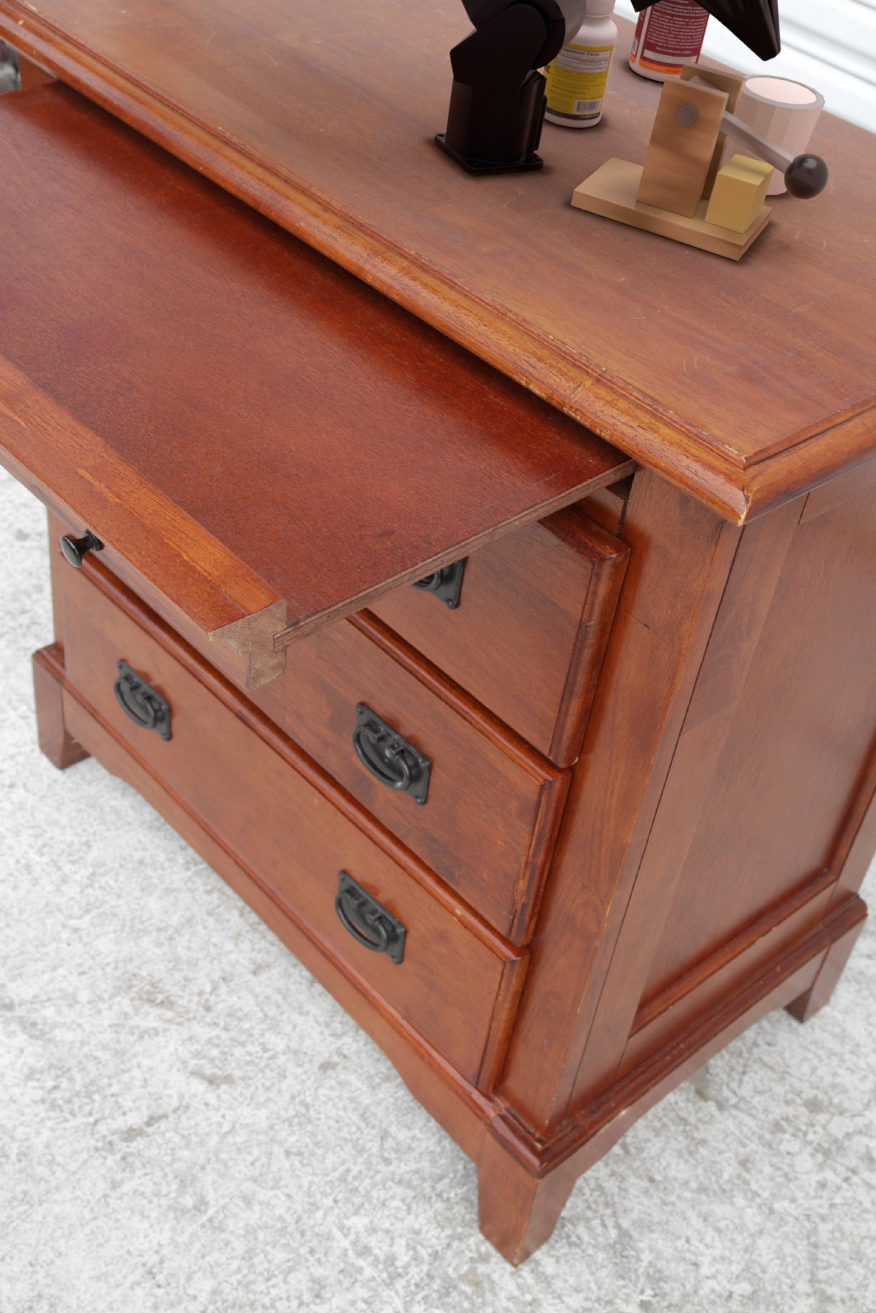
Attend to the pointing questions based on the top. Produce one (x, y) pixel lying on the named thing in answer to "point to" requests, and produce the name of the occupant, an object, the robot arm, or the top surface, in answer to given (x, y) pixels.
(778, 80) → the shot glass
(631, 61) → the pill bottle
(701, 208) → the butter cutter
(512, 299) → the top surface
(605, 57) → the supplement bottle
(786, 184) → the lever
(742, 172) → the butter
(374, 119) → the top surface
